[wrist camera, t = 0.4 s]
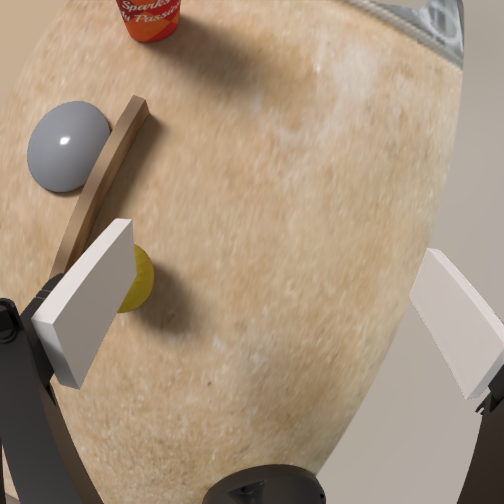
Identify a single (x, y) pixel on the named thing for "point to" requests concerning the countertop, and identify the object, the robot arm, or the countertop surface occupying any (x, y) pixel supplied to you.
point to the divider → (99, 185)
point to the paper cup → (150, 18)
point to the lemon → (139, 282)
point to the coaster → (67, 146)
